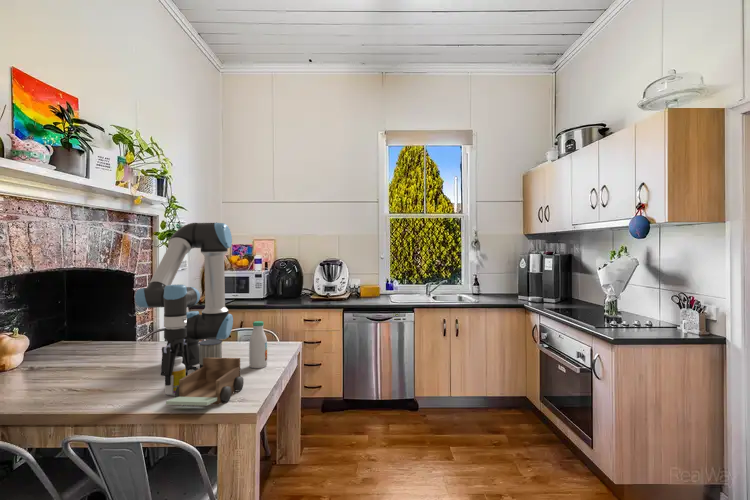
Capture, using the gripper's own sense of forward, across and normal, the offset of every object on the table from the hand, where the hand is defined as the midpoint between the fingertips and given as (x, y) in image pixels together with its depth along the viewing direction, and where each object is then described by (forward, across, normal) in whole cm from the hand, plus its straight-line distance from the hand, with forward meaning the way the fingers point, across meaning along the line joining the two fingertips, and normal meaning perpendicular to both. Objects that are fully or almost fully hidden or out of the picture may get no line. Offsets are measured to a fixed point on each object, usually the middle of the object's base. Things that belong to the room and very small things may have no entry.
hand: (175, 389), depth 152 cm
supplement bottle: (+1, 0, 0) cm, 1 cm away
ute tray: (+1, -1, -14) cm, 14 cm away
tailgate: (-1, -11, -14) cm, 18 cm away
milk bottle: (+1, +36, -18) cm, 40 cm away
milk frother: (+1, +18, 0) cm, 19 cm away
